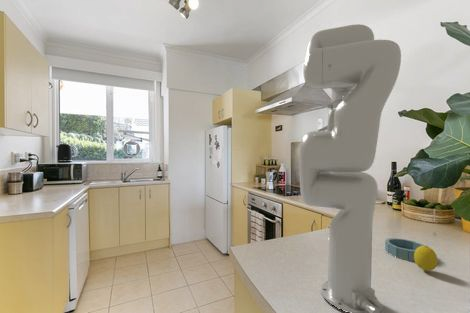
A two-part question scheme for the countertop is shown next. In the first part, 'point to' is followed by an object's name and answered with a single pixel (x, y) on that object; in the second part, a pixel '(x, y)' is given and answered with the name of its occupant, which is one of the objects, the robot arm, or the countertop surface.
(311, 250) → the countertop surface
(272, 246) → the countertop surface
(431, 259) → the lemon
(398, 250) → the bowl
